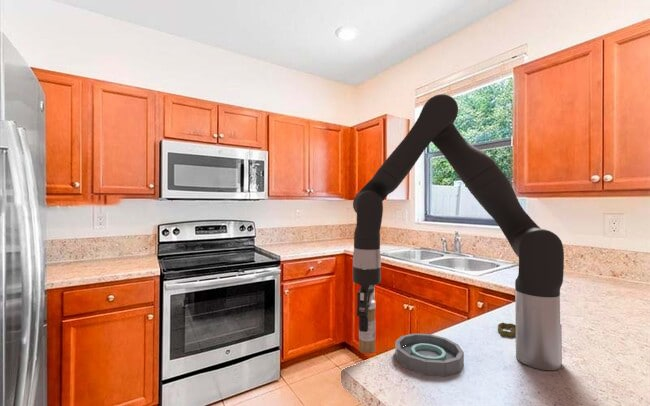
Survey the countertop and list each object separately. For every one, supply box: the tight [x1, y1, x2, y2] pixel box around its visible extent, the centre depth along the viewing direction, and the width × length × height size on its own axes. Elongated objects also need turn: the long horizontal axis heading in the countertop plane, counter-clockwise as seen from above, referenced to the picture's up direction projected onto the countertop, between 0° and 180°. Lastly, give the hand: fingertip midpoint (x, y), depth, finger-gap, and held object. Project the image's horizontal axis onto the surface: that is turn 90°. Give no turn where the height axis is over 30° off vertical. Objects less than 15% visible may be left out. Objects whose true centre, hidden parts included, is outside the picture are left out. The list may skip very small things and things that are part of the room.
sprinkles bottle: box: [358, 299, 377, 354], centre depth 83 cm, size 5×5×14 cm
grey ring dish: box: [394, 333, 465, 377], centre depth 78 cm, size 16×16×3 cm
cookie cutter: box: [497, 322, 516, 338], centre depth 95 cm, size 18×12×2 cm, turn 123°
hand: (366, 324), depth 83 cm, fingers open, 8 cm apart
